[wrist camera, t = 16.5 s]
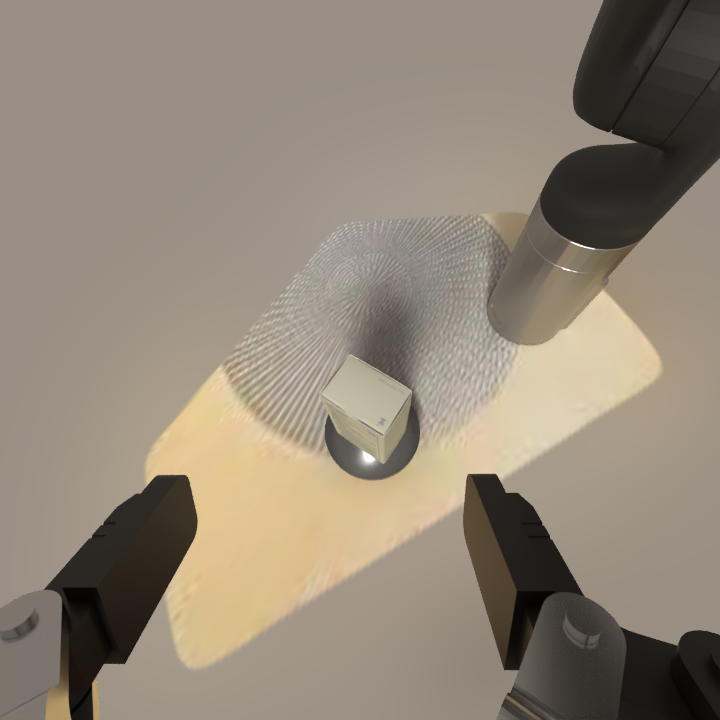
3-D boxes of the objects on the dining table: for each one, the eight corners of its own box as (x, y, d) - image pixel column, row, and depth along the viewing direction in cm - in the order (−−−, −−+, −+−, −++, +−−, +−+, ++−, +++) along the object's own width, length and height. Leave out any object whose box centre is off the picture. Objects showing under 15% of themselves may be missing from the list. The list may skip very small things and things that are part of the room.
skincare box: (406, 431, 39) (418, 391, 28) (383, 467, 38) (386, 439, 27) (356, 399, 41) (350, 350, 30) (333, 432, 40) (316, 393, 29)
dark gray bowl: (405, 387, 45) (407, 378, 42) (426, 473, 40) (430, 469, 38) (322, 402, 44) (319, 394, 42) (335, 490, 40) (332, 487, 37)
